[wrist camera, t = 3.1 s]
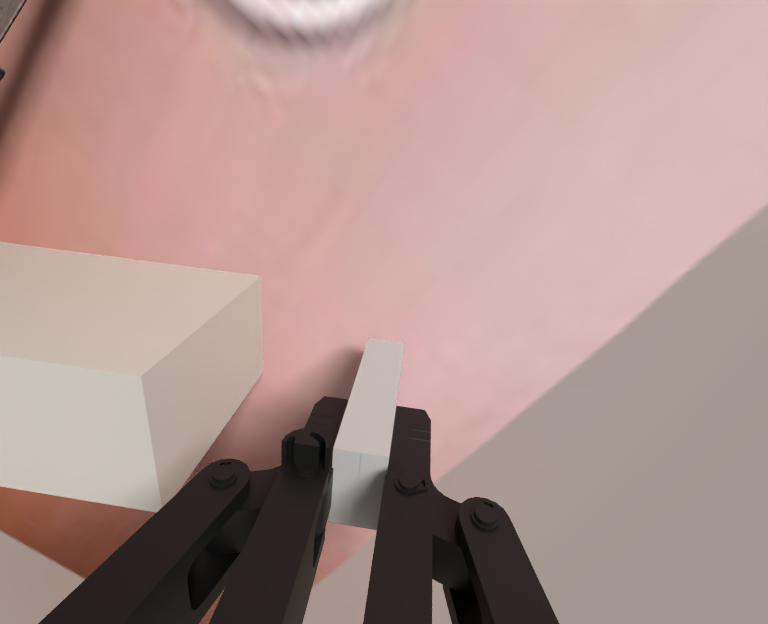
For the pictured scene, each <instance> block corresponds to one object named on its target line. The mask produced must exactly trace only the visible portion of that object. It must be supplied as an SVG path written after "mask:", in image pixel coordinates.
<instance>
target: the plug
mask: <svg viewBox="0 0 768 624" xmlns="http://www.w3.org/2000/svg"><path fill="white" fill-rule="evenodd" d="M262 373H263V333H262V288H261V276H258V275H250V274H242V273H235V272H227V271H219V270H212V269H204V268H196V267H189V266H181V265H173V264H165V263H158V262H150V261H142V260H135V259H127V258H119V257H112V256H104V255H96V254H88V253H81V252H73V251H65V250H58V249H50V248H42V247H35V246H27V245H19V244H11V243H4V242H0V486H2V487H8V488H14V489H20V490H26V491H32V492H38V493H43V494H49V495H55V496H61V497H67V498H73V499H79V500H85V501H91V502H97V503H103V504H109V505H115V506H121V507H127V508H133V509H139V510H145V511H151V512H158V511H159V510H160V509H161V508H162V507H163V506H164V505H165V504H166V503H167V502H168V501H170V500H171V499H172V498H173V497H174V496H175V495H176V494H177V493H178V492H179V490H180V489H181V487H182V486H183V485H184V483H185V482H186V480H187V479H188V478H189V476H190V475H191V473H192V472H193V471H194V469H195V468H196V466H197V465H198V463H199V462H200V461H201V459H202V458H203V456H204V455H205V454H206V452H207V451H208V449H209V448H210V447H211V445H212V444H213V442H214V441H215V440H216V438H217V437H218V435H219V434H220V432H221V431H222V430H223V428H224V427H225V425H226V424H227V423H228V421H229V420H230V418H231V417H232V416H233V414H234V413H235V411H236V410H237V408H238V407H239V406H240V404H241V403H242V401H243V400H244V399H245V397H246V396H247V394H248V393H249V392H250V390H251V389H252V387H253V386H254V385H255V383H256V382H257V380H258V379H259V377H260V376H261V375H262Z"/></svg>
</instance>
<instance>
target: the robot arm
mask: <svg viewBox="0 0 768 624" xmlns="http://www.w3.org/2000/svg"><path fill="white" fill-rule="evenodd" d="M404 347H405V343H399V342H392V341H385V340H377V339H370V338H368V341H367V345H366V348H365V351H364V354H363V357H362V360H361V363H360V366H359V370H358V373H357V376H356V379H355V382H354V385H353V388H352V391H351V394H350V398H349V400H346V399H340V398H333V397H326V396H324V397H323V398H322V399H321V400H320V401H318V402H317V403H316V404H315V405H314V408H313V410H312V412H311V415H310V417H309V419H308V421H307V424H306V426H305V428H304V429H299V430H295V431H293V432H291V433H289V434H287V435H286V436H285V437H284V439H283V440H282V465H281V466H279V467H276V468H274V469H269V470H263V471H253V472H250V470H249V468H248V466H247V465H246V464H245V463H243V462H242V461H240V460H235V459H224V460H219V461H216V462H213V463H211V464H210V465H208V466H207V467H205V468H204V469H203V470H201V471H200V472H199V473H198V474H197V475H196V476H195V477H194V478H193V479H192V480H191V481H190V482H189V483H188V484H187V485H186V486H184V487H183V488H182V489H181V490H180V491H179V492H178V493H177V494H176V495H175V496H174V497H173V498H172V499H171V500H170V501H168V502H167V503H166V504H165V505H164V506H163V507H162V508H161V509H160V510H159V511H158V512H157V513H156V514H155V515H154V516H153V517H151V518H150V519H149V520H148V521H147V522H146V523H145V524H144V525H143V526H142V527H141V528H140V529H139V530H138V531H137V532H135V533H134V534H133V535H132V536H131V537H130V538H129V539H128V540H127V541H126V542H125V543H124V544H123V545H122V546H121V547H120V548H118V549H117V550H116V551H115V552H114V553H113V554H112V555H111V556H110V557H109V558H108V559H107V560H106V561H105V562H104V563H102V564H101V565H100V566H99V567H98V568H97V569H96V570H95V571H94V572H93V573H92V574H91V575H90V576H89V577H88V578H87V579H85V580H84V581H83V582H82V583H81V584H80V585H79V586H78V587H77V588H76V589H75V590H74V591H73V592H72V593H71V594H69V595H68V596H67V597H66V598H65V599H64V600H63V601H62V602H61V603H60V604H59V605H58V606H57V607H56V608H55V609H54V610H52V612H50V614H48V615H47V616H46V617H45V618H44V619H43V620H42V621H41V622H40V623H39V624H199V622H200V621H201V619H202V618H203V617H204V615H205V614H206V613H207V611H208V610H209V608H210V607H211V606H212V604H213V603H214V602H215V600H216V599H217V598H218V596H219V595H220V593H221V592H222V591H223V589H224V588H225V589H224V592H223V594H222V596H221V598H220V600H219V603H218V605H217V607H216V609H215V611H214V614H213V616H212V618H211V620H210V622H209V624H302V622H303V618H304V615H305V611H306V607H307V603H308V600H309V596H310V592H311V588H312V585H313V581H314V577H315V573H316V570H317V566H318V562H319V558H320V555H321V551H322V547H323V543H324V540H325V526H326V523H327V519H328V515H329V522H332V523H338V524H344V525H350V526H356V527H362V528H368V529H374V530H377V533H376V540H375V547H374V554H373V560H372V567H371V574H370V581H369V588H368V595H367V602H366V608H365V615H364V622H363V624H432V579H434V580H436V581H438V582H439V583H441V584H443V590H444V594H445V597H446V601H447V606H448V609H449V613H450V617H451V621H452V624H559V623H558V620H557V618H556V616H555V614H554V612H553V610H552V608H551V605H550V603H549V601H548V599H547V597H546V595H545V593H544V590H543V588H542V586H541V584H540V582H539V580H538V578H537V576H536V574H535V571H534V569H533V567H532V565H531V563H530V560H529V558H528V556H527V554H526V552H525V550H524V548H523V546H522V543H521V541H520V539H519V537H518V535H517V533H516V530H515V528H514V526H513V524H512V522H511V520H510V518H509V516H508V515H507V513H506V512H505V510H504V509H503V508H502V507H501V506H499V505H498V504H497V503H496V502H493V501H491V500H489V499H486V498H480V497H474V498H469V499H467V500H465V501H464V502H463V503H459V502H456V501H454V500H452V499H450V498H448V497H446V496H444V495H443V494H442V493H441V492H439V491H438V490H437V489H436V487H435V486H434V485H433V482H432V480H431V476H430V445H431V442H430V440H431V433H430V432H431V420H430V418H429V416H428V415H427V413H426V411H425V410H421V409H414V408H407V407H400V406H397V399H398V391H399V384H400V376H401V369H402V361H403V354H404Z"/></svg>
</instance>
